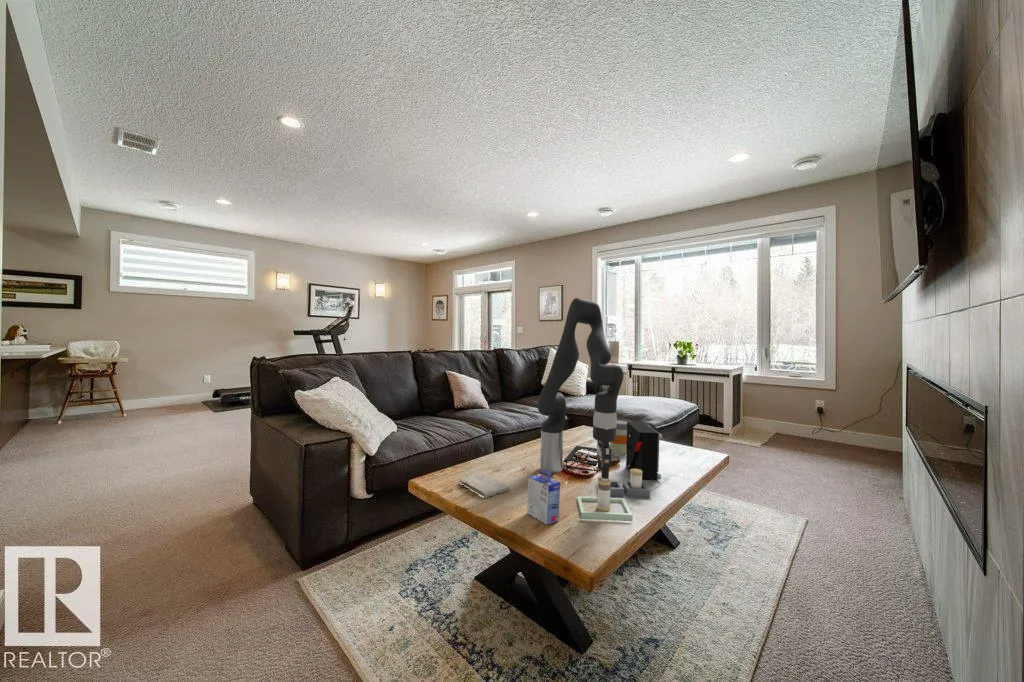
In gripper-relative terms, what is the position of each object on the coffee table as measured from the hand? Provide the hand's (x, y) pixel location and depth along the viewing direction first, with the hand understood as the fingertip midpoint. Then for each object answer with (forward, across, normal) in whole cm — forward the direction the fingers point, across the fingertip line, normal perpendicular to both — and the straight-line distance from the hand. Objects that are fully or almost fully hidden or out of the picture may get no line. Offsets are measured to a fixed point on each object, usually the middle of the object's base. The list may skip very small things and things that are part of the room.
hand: (602, 473), depth 127 cm
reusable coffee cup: (+14, -66, +19) cm, 70 cm away
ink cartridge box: (+13, +6, -19) cm, 24 cm away
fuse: (+12, 0, +1) cm, 12 cm away
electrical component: (+13, -35, +22) cm, 44 cm away
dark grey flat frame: (+14, -50, 0) cm, 52 cm away
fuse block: (+13, -14, +10) cm, 21 cm away
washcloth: (+14, -14, -42) cm, 46 cm away
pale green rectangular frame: (+13, 0, +1) cm, 13 cm away
